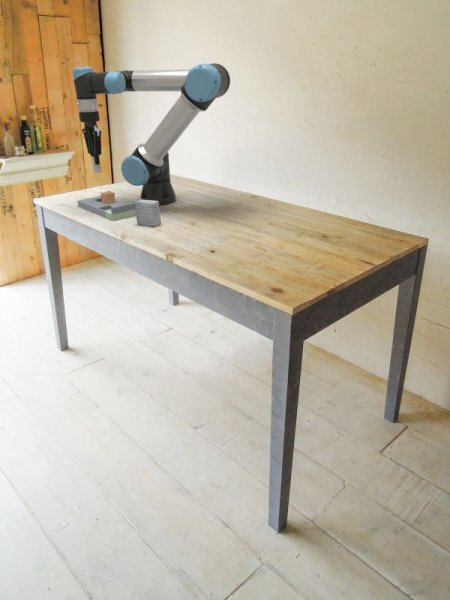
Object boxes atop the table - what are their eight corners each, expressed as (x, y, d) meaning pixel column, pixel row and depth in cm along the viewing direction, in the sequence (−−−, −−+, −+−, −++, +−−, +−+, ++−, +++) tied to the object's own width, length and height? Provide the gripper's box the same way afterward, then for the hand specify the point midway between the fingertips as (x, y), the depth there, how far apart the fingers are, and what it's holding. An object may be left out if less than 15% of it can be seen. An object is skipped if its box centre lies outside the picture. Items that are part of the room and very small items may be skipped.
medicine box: (161, 223, 186) (159, 200, 182) (155, 227, 183) (152, 203, 179) (143, 221, 189) (141, 199, 186) (136, 225, 186) (134, 202, 182)
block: (102, 202, 207) (100, 192, 205) (110, 200, 209) (109, 191, 207) (106, 204, 204) (105, 194, 202) (115, 202, 206) (114, 192, 204)
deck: (78, 206, 212) (76, 194, 210) (101, 201, 218) (100, 190, 216) (113, 221, 191) (112, 208, 189) (138, 215, 197) (137, 202, 195)
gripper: (72, 110, 196) (82, 171, 207) (86, 112, 187) (95, 176, 197) (90, 109, 201) (99, 168, 211) (104, 110, 191) (113, 173, 201)
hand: (97, 172), depth 204 cm, fingers closed
